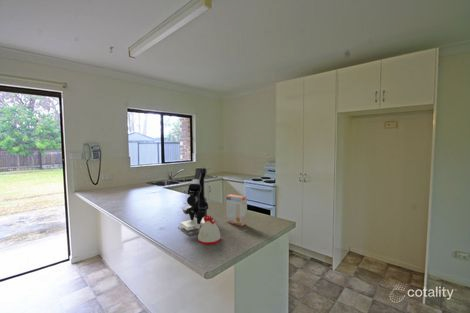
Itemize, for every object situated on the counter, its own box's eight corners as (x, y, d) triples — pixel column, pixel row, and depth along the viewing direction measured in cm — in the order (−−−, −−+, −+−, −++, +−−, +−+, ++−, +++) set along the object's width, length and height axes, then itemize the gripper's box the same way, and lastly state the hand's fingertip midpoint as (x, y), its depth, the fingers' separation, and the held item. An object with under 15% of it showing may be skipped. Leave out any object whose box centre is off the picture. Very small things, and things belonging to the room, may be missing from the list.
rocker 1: (192, 222, 156) (192, 219, 156) (200, 227, 146) (200, 224, 146) (180, 225, 150) (180, 222, 150) (188, 230, 140) (188, 227, 140)
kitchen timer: (207, 233, 142) (207, 211, 142) (225, 238, 136) (224, 214, 135) (193, 241, 130) (192, 217, 130) (211, 247, 124) (211, 221, 123)
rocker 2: (205, 219, 162) (205, 216, 162) (214, 224, 152) (214, 220, 152) (194, 222, 157) (194, 218, 157) (203, 227, 147) (203, 223, 147)
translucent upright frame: (246, 224, 159) (246, 196, 158) (241, 227, 154) (241, 197, 153) (231, 220, 167) (231, 193, 166) (226, 222, 163) (226, 195, 162)
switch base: (205, 221, 164) (205, 220, 164) (217, 228, 152) (217, 226, 152) (177, 228, 151) (177, 226, 151) (188, 236, 138) (187, 234, 138)
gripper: (178, 200, 152) (178, 222, 153) (190, 206, 137) (190, 230, 138) (192, 198, 159) (193, 219, 159) (205, 203, 144) (205, 226, 145)
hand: (195, 223), depth 150 cm, fingers open, 9 cm apart
